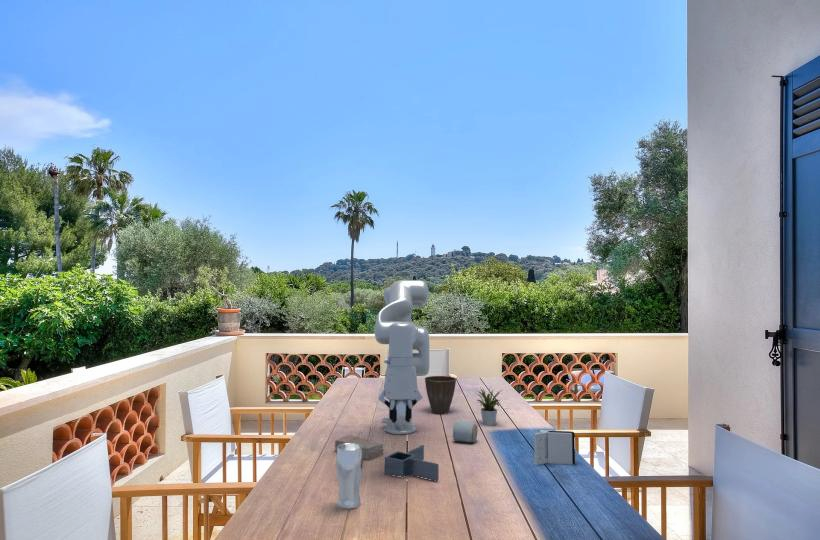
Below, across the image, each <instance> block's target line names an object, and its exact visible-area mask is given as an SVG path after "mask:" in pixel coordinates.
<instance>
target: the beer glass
mask: <svg viewBox="0 0 820 540" xmlns="http://www.w3.org/2000/svg"><path fill="white" fill-rule="evenodd" d="M363 460H364V459H363V456H362V445H360V444H357V443H345V444H341V445H339V446H338V447H337V451H336V458H335V465H336V475H337V482H338V499H337V506H339V507H338V508H340V507H341V508H340V509H342V508H346V509H345V510H352V509H351V508H354V509H356V507H357V508H359V507H360V506H361V496H360V486H361V480H362V476H363V475H362V474H363V473H362V472H363V464H364V463H363ZM358 506H359V507H358Z"/></svg>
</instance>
